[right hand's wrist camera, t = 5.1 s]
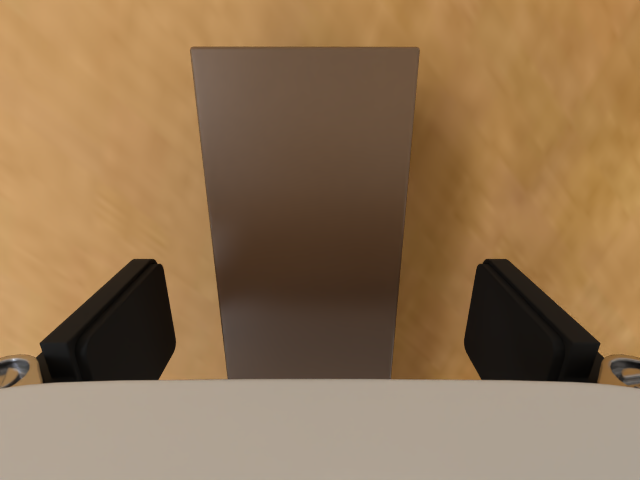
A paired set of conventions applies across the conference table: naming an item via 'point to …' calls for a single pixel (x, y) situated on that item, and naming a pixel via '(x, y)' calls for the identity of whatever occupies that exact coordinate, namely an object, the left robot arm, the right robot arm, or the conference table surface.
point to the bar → (306, 203)
